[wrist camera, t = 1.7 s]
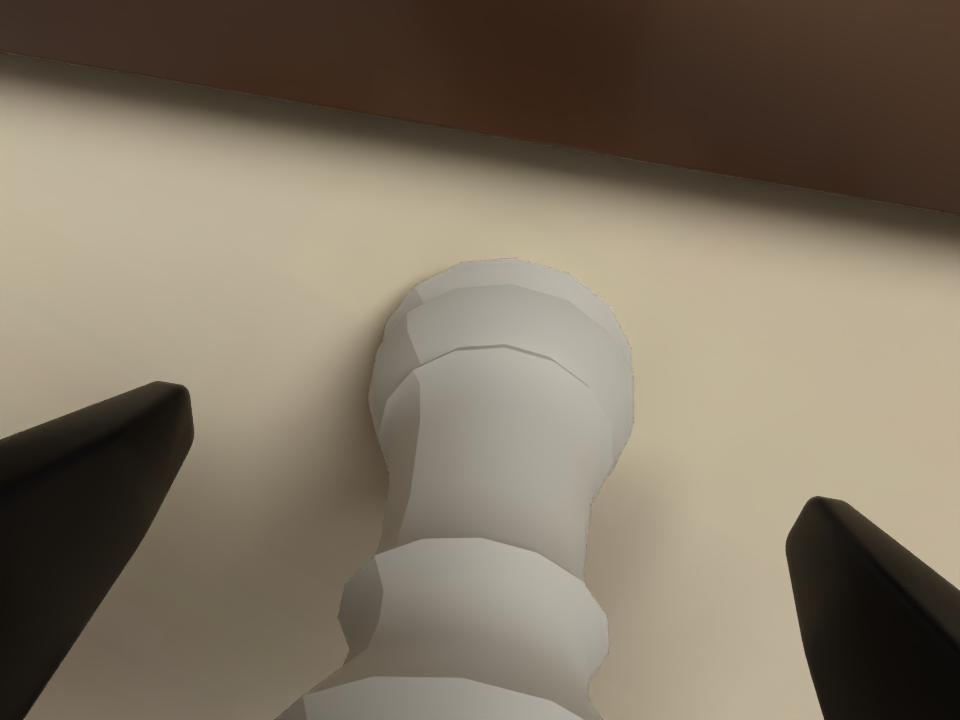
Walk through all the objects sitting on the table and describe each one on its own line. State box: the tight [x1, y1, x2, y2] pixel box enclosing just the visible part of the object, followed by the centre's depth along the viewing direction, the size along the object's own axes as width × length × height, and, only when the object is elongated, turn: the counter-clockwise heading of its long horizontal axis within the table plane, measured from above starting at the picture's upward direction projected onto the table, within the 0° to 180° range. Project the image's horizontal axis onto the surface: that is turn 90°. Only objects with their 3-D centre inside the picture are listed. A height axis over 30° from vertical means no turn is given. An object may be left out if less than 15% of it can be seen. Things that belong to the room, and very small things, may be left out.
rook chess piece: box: [275, 258, 634, 720], centre depth 8 cm, size 4×4×8 cm
